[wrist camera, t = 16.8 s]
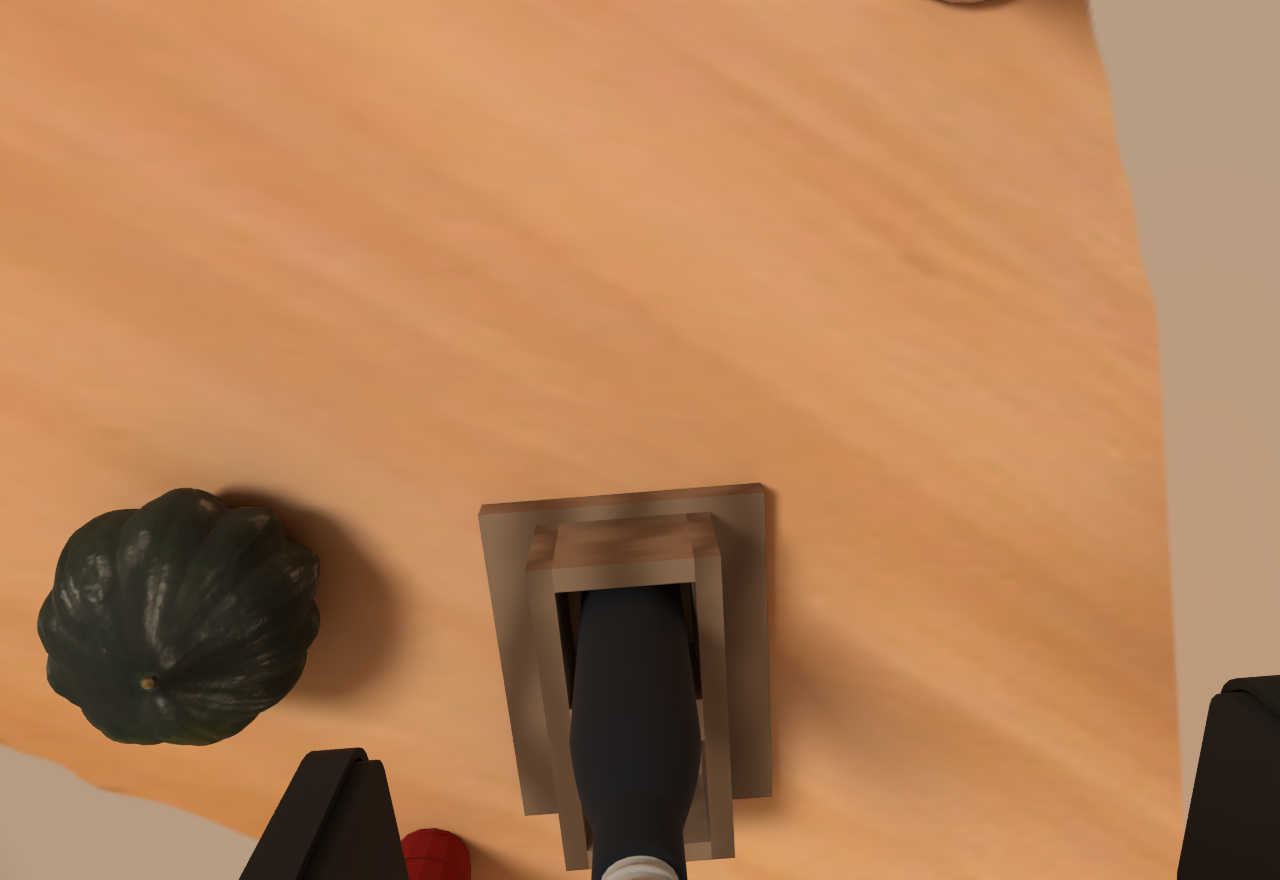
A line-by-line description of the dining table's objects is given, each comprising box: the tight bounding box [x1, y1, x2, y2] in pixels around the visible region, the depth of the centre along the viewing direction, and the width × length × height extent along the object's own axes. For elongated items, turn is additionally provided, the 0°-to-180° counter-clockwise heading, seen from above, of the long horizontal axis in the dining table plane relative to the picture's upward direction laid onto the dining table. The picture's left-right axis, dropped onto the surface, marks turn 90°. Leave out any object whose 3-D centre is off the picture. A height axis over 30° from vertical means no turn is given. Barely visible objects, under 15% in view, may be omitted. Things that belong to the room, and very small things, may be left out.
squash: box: [37, 488, 320, 746], centre depth 47 cm, size 14×15×15 cm
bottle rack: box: [478, 483, 772, 871], centre depth 52 cm, size 18×24×8 cm
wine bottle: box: [569, 583, 702, 880], centre depth 38 cm, size 6×6×30 cm
